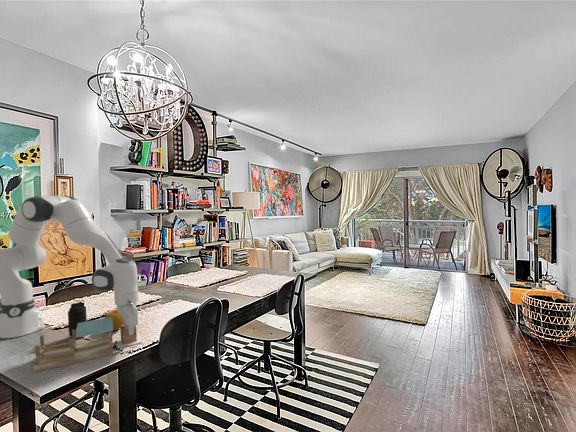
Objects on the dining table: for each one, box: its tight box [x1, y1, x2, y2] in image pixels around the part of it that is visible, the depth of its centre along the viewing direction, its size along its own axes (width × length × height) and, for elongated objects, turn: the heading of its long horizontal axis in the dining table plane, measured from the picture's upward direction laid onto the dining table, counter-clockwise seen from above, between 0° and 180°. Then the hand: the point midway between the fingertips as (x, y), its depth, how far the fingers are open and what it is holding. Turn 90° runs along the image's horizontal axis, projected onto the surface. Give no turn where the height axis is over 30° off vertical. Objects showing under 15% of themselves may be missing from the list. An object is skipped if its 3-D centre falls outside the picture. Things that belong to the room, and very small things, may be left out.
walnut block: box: [119, 325, 138, 344], centre depth 133 cm, size 5×5×6 cm
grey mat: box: [116, 334, 143, 350], centre depth 133 cm, size 9×9×1 cm
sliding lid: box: [76, 317, 114, 339], centre depth 125 cm, size 11×12×2 cm
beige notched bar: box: [33, 329, 114, 373], centre depth 122 cm, size 14×24×8 cm, turn 120°
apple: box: [104, 309, 123, 331], centre depth 146 cm, size 9×9×9 cm
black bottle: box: [67, 301, 88, 339], centre depth 140 cm, size 7×7×15 cm
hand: (128, 330), depth 133 cm, fingers open, 8 cm apart
